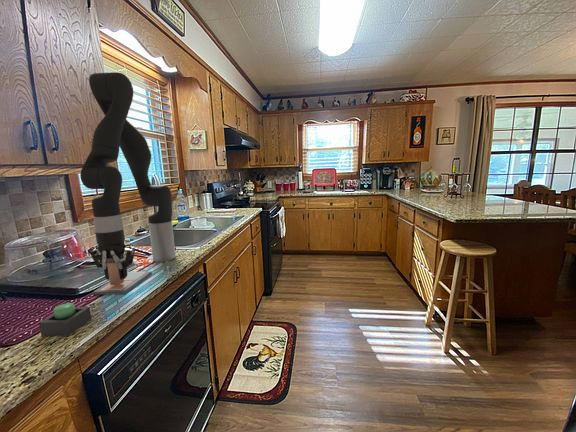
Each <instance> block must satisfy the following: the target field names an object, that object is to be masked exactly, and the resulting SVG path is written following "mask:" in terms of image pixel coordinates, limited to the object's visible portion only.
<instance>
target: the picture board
mask: <svg viewBox="0 0 576 432" xmlns="http://www.w3.org/2000/svg"><path fill="white" fill-rule="evenodd" d="M127 274H128V275H127V276H126V278H125V279H124V282H123V283H121V284H118V285H110V281H108V282H106V283H105V284H103V285H102V286H100V287H98V288H97V289H95V290H93V295H125V294H127V293H128V292H129V291H131V290H132V289H134V288H135V287H136V286H138V285H139V284H140V283H142V282H143V281H144V280H146V279H147V278H148V277H149V276H151V275H152V274H153V272H152V270H151V271H148V270H147V271H127Z"/></svg>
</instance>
